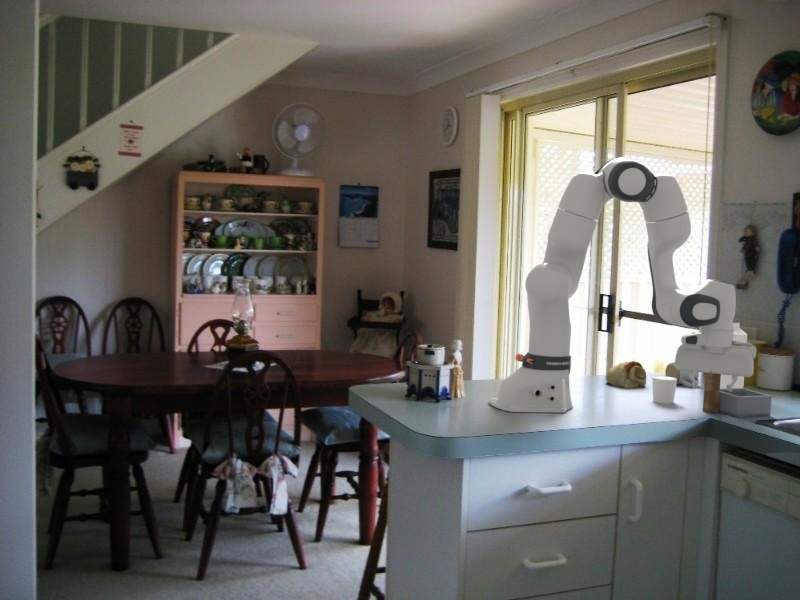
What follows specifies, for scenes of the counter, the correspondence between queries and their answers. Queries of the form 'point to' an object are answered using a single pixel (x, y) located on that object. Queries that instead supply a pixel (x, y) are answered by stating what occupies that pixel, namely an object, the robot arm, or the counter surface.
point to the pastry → (627, 375)
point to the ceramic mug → (680, 375)
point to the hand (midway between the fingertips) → (711, 389)
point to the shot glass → (664, 389)
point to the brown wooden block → (711, 392)
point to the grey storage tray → (744, 403)
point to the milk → (727, 379)
